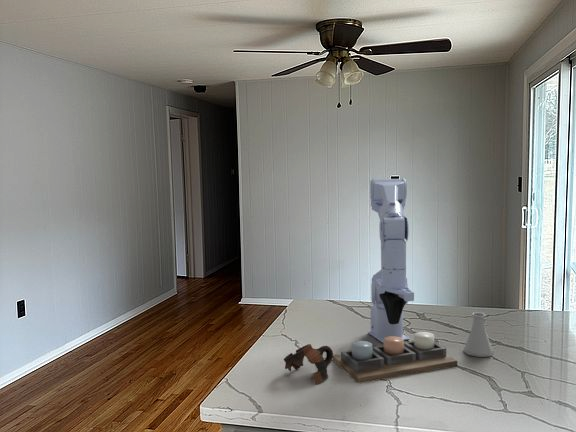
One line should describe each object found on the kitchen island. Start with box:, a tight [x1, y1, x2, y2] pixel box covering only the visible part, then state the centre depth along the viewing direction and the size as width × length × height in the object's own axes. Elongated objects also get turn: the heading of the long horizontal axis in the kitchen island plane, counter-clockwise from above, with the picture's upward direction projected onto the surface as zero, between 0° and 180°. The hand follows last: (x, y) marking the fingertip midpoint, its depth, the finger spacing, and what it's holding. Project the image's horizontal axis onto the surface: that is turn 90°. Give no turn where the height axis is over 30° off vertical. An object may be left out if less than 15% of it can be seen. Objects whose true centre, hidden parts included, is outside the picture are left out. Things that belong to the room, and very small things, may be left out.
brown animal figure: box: [283, 343, 334, 385], centre depth 120 cm, size 12×10×8 cm
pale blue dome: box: [351, 340, 373, 361], centre depth 123 cm, size 5×5×3 cm
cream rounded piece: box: [413, 331, 435, 351], centre depth 128 cm, size 5×5×3 cm
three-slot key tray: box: [332, 340, 458, 384], centre depth 126 cm, size 14×26×3 cm, turn 109°
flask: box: [462, 312, 494, 358], centre depth 131 cm, size 7×7×10 cm
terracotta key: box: [383, 336, 405, 356], centre depth 126 cm, size 5×5×3 cm
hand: (393, 323), depth 125 cm, fingers closed
